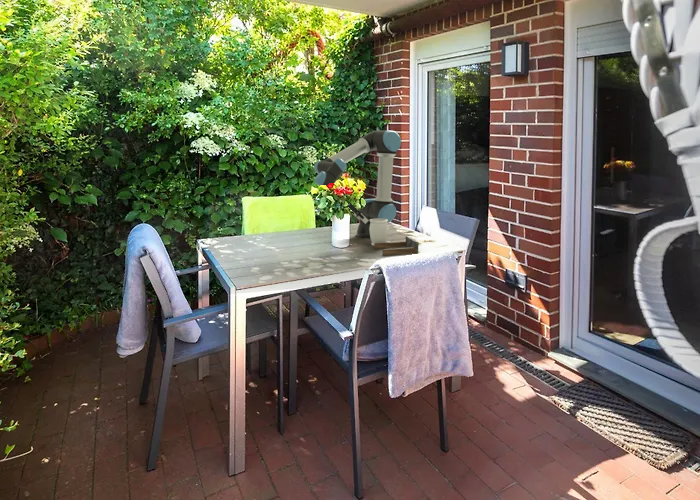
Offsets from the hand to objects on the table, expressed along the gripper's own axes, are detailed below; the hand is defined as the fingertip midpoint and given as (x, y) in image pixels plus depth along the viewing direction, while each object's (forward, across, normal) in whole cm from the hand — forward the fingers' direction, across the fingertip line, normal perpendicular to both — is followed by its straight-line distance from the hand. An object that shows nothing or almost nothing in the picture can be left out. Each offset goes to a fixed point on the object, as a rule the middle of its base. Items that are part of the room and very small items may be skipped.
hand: (363, 220), depth 296 cm
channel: (+21, +16, -1) cm, 26 cm away
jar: (+17, 0, -4) cm, 18 cm away
